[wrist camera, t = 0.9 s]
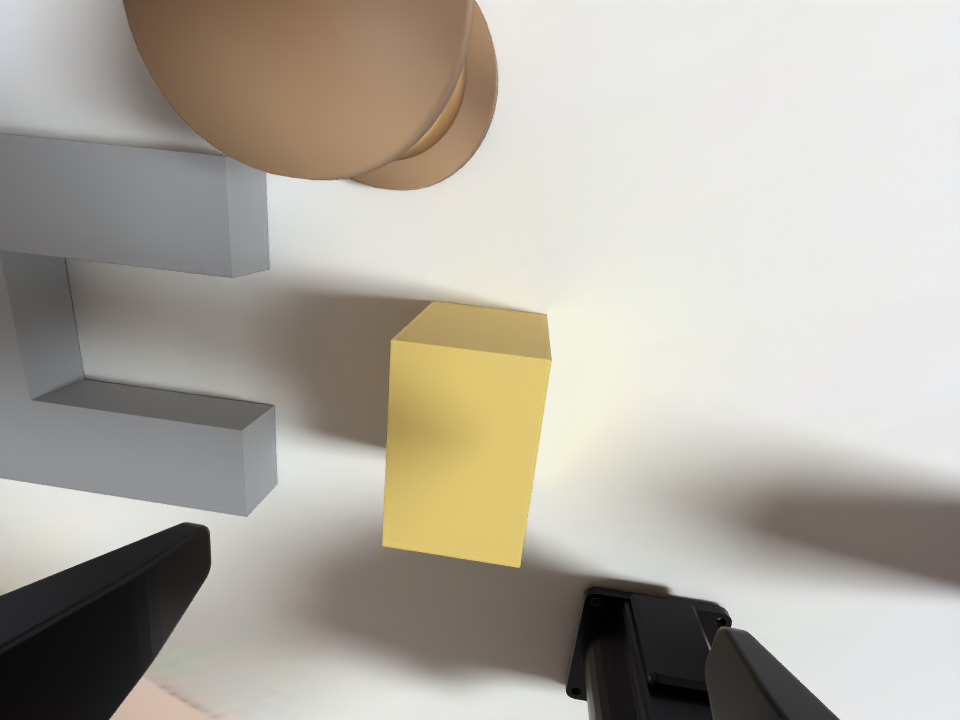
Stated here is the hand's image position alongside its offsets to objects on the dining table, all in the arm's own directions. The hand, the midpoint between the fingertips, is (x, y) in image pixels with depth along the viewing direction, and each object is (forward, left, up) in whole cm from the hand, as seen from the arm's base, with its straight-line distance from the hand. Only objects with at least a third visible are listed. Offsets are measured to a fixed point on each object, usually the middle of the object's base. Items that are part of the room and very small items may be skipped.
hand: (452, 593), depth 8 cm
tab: (-1, +1, -12) cm, 12 cm away
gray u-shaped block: (0, +16, -12) cm, 20 cm away
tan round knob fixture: (+10, +5, -12) cm, 16 cm away
